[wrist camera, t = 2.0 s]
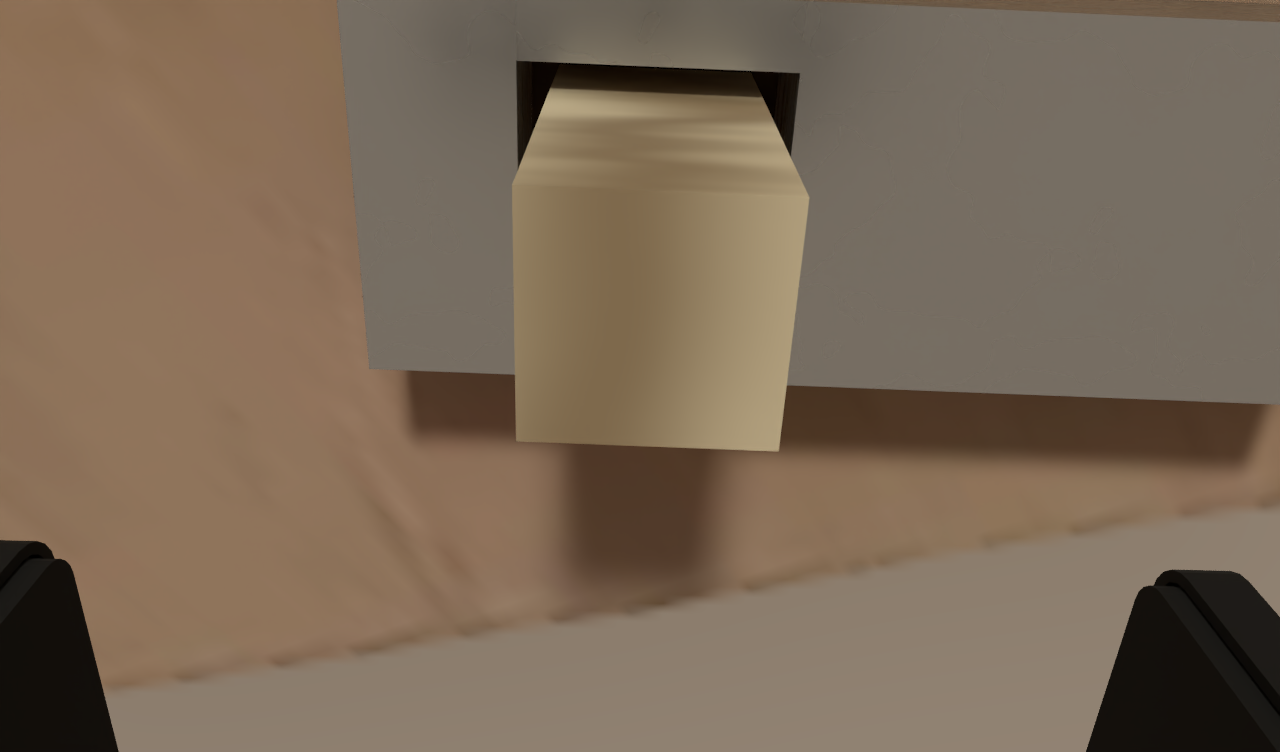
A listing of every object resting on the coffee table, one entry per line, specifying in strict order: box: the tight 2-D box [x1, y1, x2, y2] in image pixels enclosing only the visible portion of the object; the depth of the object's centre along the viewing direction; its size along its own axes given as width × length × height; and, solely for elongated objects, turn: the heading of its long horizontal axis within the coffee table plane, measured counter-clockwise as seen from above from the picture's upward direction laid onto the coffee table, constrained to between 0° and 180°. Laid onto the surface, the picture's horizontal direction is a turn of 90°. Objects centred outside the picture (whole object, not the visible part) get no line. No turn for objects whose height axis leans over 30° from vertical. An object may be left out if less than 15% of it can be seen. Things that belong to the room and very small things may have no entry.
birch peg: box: [512, 64, 810, 451], centre depth 19 cm, size 4×4×9 cm
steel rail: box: [337, 0, 1280, 405], centre depth 22 cm, size 22×8×3 cm, turn 88°
